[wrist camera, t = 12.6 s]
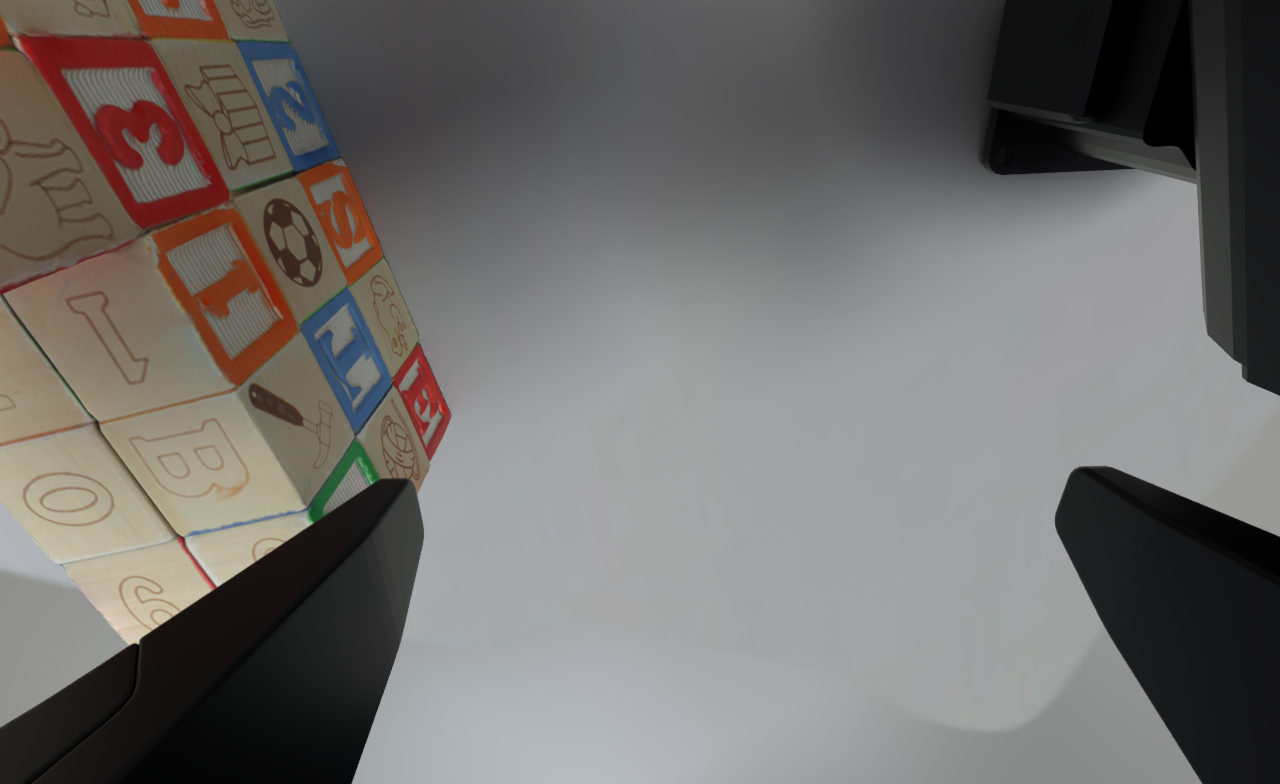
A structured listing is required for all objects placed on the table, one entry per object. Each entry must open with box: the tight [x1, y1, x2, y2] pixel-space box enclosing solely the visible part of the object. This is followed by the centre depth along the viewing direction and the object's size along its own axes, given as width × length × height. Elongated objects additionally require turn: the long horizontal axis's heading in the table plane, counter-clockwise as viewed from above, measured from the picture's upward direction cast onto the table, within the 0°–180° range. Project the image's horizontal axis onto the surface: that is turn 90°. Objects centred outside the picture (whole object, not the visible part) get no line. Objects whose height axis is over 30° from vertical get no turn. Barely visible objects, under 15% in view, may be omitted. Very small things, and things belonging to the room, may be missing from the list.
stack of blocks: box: [0, 0, 451, 646], centre depth 14 cm, size 21×6×12 cm, turn 13°
